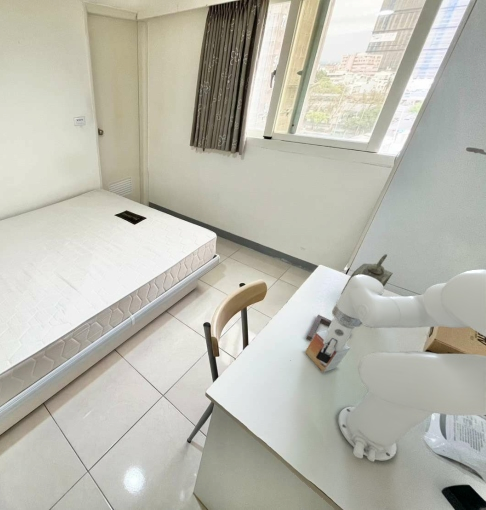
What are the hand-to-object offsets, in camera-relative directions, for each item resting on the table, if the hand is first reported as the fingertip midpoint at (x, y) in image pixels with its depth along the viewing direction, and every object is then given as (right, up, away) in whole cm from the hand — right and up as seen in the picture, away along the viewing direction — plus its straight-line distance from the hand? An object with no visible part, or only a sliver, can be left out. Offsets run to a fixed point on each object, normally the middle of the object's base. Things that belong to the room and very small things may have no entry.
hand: (325, 351), depth 88 cm
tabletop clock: (+28, +11, +24) cm, 38 cm away
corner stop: (+8, +2, +11) cm, 13 cm away
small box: (0, -4, +3) cm, 5 cm away
